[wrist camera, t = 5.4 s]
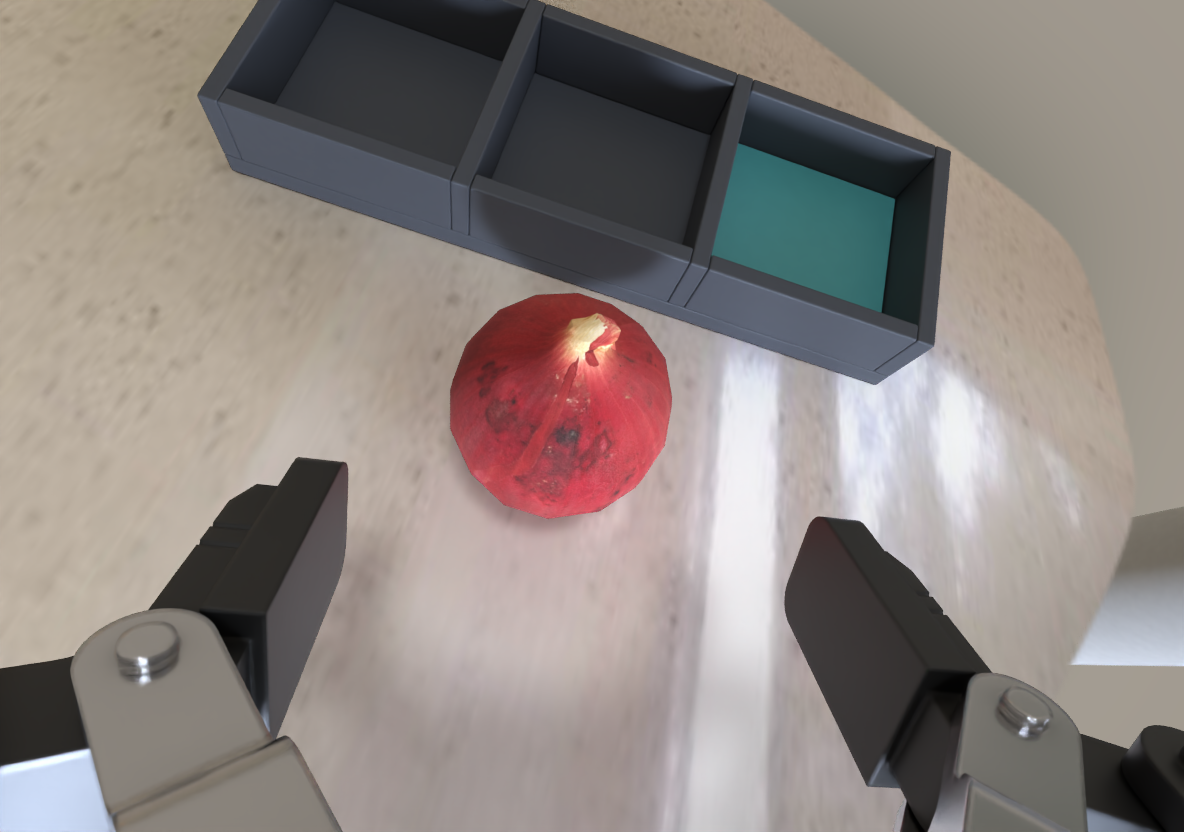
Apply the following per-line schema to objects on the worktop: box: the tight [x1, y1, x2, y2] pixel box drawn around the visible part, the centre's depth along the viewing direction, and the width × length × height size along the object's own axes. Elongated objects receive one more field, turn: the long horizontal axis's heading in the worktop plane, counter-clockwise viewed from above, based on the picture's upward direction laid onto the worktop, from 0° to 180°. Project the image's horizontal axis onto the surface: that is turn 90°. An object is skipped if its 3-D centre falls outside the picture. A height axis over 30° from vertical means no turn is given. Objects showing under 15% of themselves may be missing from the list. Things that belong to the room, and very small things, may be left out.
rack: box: [198, 0, 951, 385], centre depth 24 cm, size 23×8×3 cm, turn 75°
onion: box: [450, 293, 672, 519], centre depth 18 cm, size 6×6×8 cm
